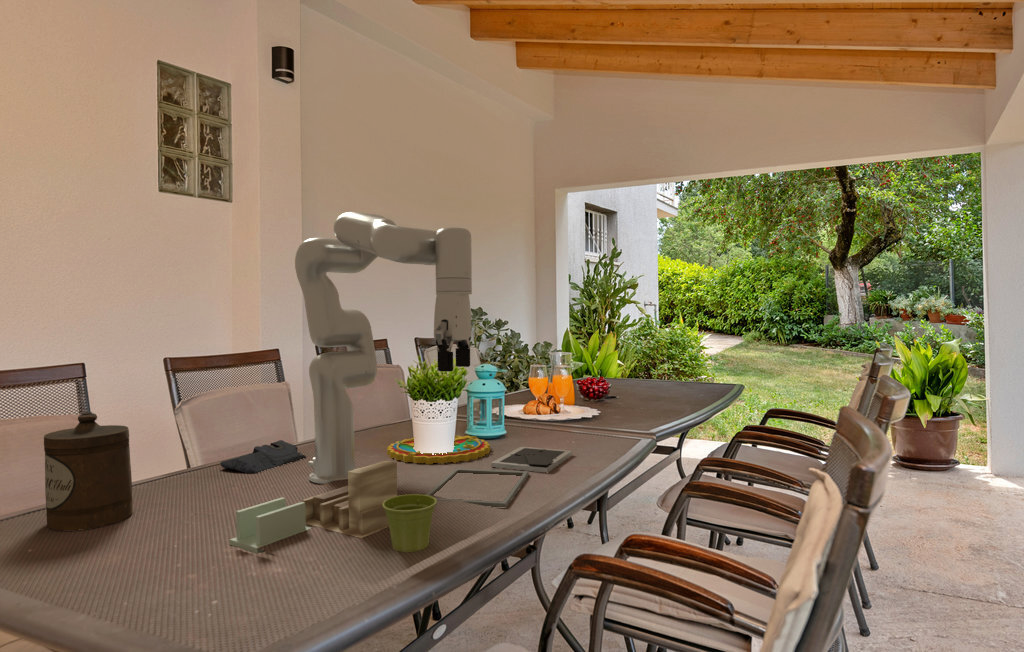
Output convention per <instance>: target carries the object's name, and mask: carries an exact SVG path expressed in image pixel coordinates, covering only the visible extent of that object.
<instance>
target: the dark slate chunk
mask: <svg viewBox="0 0 1024 652" xmlns="http://www.w3.org/2000/svg"><path fill="white" fill-rule="evenodd" d="M303 458H305V459H307V456H306V455H304V454H302V452H298V447H297V445H295V444H292V443H289V442H286V441H285V440H281V439H280V440H276V441H274V442H270V445H269V444H263V445H260V446H259V445H257V446H254V448H253V451H252V453H248V454H244V455H240V456H238V457H233V458H231V459H226V460H222V461H221V462H220V467H221V468H224V469H228V468H229V469H228V470H234V469H235V471H238V472H240V473H244V472H245V474H255V473H256V474H259V473H258V472H260V473H262V472H261V471H264V470H266V471H268V470H267V469H270V470H272V469H271V468H273V469H275V468H274V467H277V466H280V465H283V464H286V465H288V464H287V463H289V464H291V463H290V462H292V463H295V462H298V461H297V460H299V461H301V460H300V459H302V460H304V459H303ZM294 461H295V462H294ZM283 466H284V465H283ZM280 467H281V466H280ZM277 468H278V467H277ZM264 472H265V471H264Z"/></svg>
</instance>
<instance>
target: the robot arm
mask: <svg viewBox="0 0 1024 652" xmlns="http://www.w3.org/2000/svg"><path fill="white" fill-rule="evenodd" d="M333 233H334V236H335V238H331V237H313V238H308V239H306V240H304V241H302V242H301V243H300V244H299V246H298V248H297V250H296V252H295V257H294V269H295V273H296V274H295V275H296V277H297V280H298V283H299V286H300V289H301V291H302V295H303V300H304V306H305V307H304V308H305V313H306V314H305V315H306V320H307V327H308V332H309V338H310V340H311V343H313V344H314V345H315V346H316V347H319V348H337V347H338V348H339V347H340V348H341V347H346V350H347V351H346V350H342V351H329V352H324V353H321V354H318V355H316V356H315V357H314V358H313V359H312V360H311V362H310V364H309V367H308V375H309V381H310V384H311V389H312V397H313V413H314V416H313V417H314V455H315V456H313V458H312V459H311V460H309V461H308V462H307V466H308V467H312V469H313V470H312V472H311V473H309V475H308V479H309V481H310V482H312V483H314V484H319V485H326V484H330V483H333V482H336V481H343V480H347V481H348V471H351V470H355V469H357V468H356V467H355V466H356V465H355V464H356V463H355V416H354V409H355V408H354V404H353V402H352V399H351V397H350V396H349V394H348V393H347V391H346V390H347V389H348V390H349V389H354V388H361V387H366V386H369V385H371V384H372V383H374V381H375V379H376V378H377V375H378V361H377V355H376V350H375V348H376V347H375V342H374V337H373V331H372V326H371V322H370V321H369V318H368V317H367V316H366V314H365V313H363V311H361V310H358V309H343V308H342V305H341V301H340V295H339V291H338V289H337V287H336V285H335V283H334V282H333V281H332V280H331V279H330V278H329V276H328V274H327V273H333V274H334V273H335V274H338V273H339V274H341V273H342V274H357V273H358V274H359V273H361V272H363V271H364V270H366V269H367V268H368V267H369V266H370V264H372V263H373V262H374V261H375V260H376V259H377V258H381V259H385V260H389V261H391V262H395V263H399V264H400V263H401V264H405V265H406V264H407V265H409V264H410V265H425V266H435V295H436V297H435V303H434V304H435V305H434V317H433V318H434V319H433V339H434V341H435V343H436V352H437V371H438V372H453V371H454V352H453V351H452V349H453V346H454V343H455V344H456V347H455V367H458V368H459V367H460V368H469V367H471V346H472V345H471V340H472V336H471V334H472V333H471V332H472V318H471V317H472V316H471V315H472V314H471V302H470V300H471V299H470V295H472V293H473V292H472V290H473V288H472V287H473V286H472V285H473V284H472V282H473V280H472V277H473V276H472V273H473V272H472V266H473V265H472V234H471V232H470V231H469V229H467V228H464V227H463V228H462V227H443V228H439V229H438V230H432V229H431V230H430V229H425V228H424V229H423V228H418V227H417V228H415V227H405V226H400V225H397V224H396V223H395V222H394V221H393V220H392V219H390V218H388V217H387V218H386V217H385V216H383V215H379V214H374V213H373V214H372V213H366V212H359V211H349V212H348V211H347V212H343V213H342V214H340V215H338V216H337V218H336V220H335V221H334V222H333Z"/></svg>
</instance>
